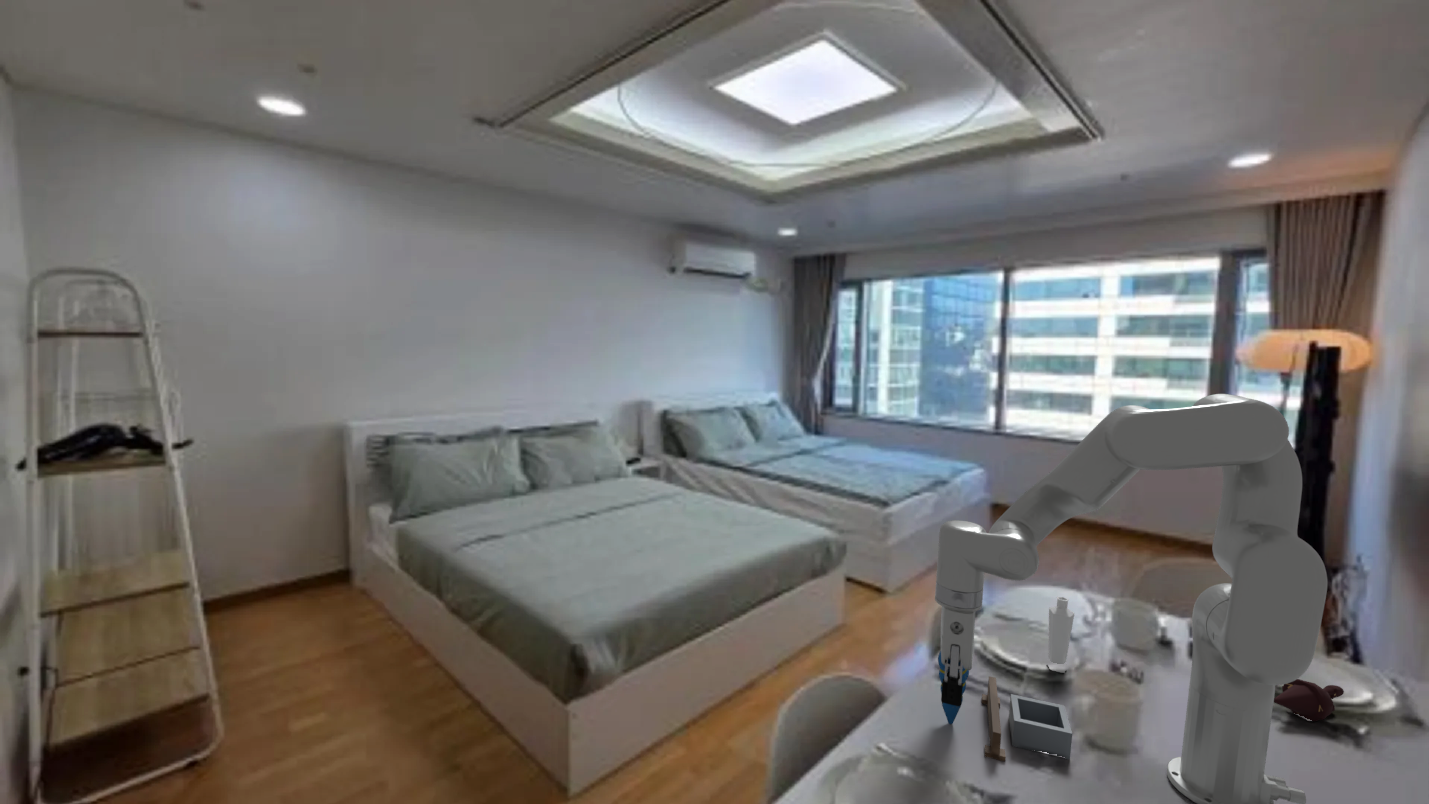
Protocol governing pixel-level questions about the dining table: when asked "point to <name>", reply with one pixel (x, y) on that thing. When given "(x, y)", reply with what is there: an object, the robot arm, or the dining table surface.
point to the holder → (1039, 726)
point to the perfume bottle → (1059, 630)
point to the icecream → (1308, 699)
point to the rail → (993, 722)
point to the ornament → (948, 709)
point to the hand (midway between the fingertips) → (951, 694)
